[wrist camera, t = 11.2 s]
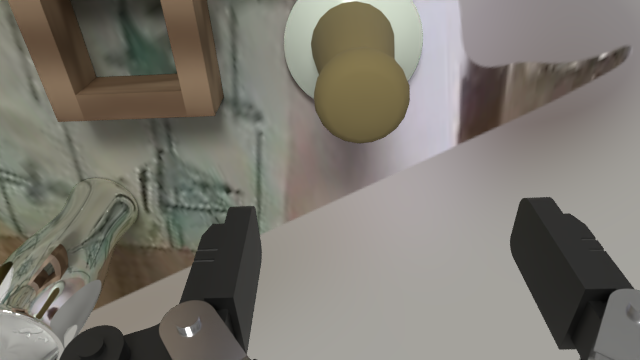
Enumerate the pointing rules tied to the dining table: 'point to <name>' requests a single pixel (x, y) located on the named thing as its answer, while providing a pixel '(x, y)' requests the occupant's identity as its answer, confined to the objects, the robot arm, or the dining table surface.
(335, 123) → the olive pawn
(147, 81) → the frame
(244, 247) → the robot arm
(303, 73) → the coaster
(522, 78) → the dining table surface
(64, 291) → the beer glass
